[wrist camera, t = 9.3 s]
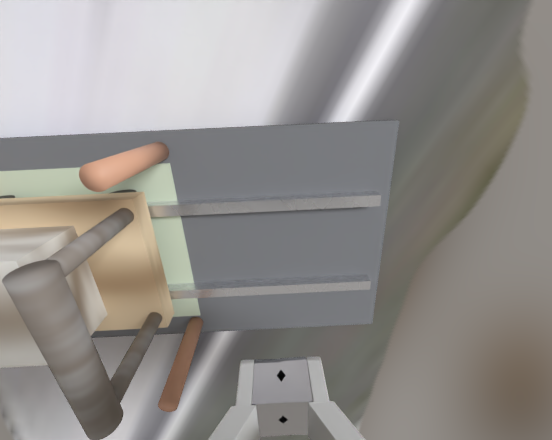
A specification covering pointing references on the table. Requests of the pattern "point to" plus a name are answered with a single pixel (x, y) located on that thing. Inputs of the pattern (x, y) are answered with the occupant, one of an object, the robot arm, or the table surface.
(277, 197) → the rails
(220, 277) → the dock mat
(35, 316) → the tan box with handle
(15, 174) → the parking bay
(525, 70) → the table surface
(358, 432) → the robot arm
